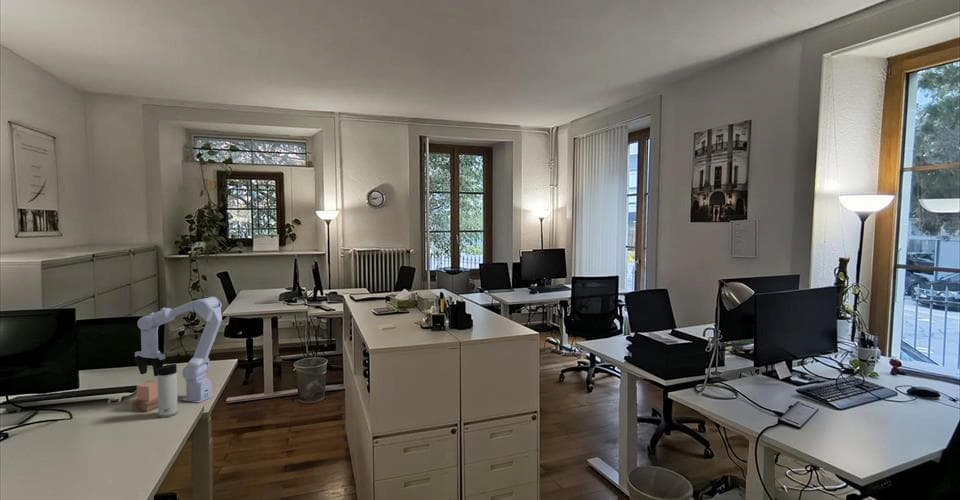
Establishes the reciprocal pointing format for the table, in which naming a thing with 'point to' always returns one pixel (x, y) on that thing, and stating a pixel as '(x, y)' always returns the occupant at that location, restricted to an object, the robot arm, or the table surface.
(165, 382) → the travel mug
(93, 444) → the table surface
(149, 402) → the walnut block
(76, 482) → the table surface
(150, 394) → the terracotta block
